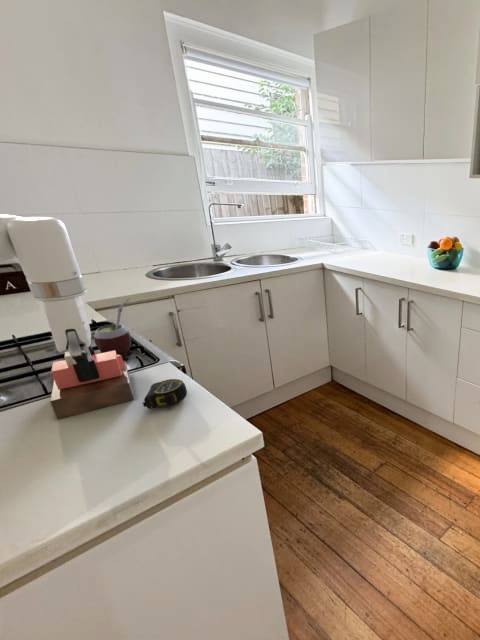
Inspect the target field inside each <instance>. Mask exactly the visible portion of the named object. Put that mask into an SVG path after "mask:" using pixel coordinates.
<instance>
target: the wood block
mask: <svg viewBox="0 0 480 640" xmlns="http://www.w3.org/2000/svg"><path fill="white" fill-rule="evenodd" d="M123 362H124V365H125V369H124V370H122V371H121V373H122V376H118V377H113V378H109V379H104V380H100V381H95V382H91V383H86V384H82V385H78V386H73V387H69V388H64V389H60V390H58V388H57V385H56V383H55V380H54V379H53V384H52V389H51V394H50V400H49V403H50V405H51V408H52V410H53V412H54V414H55V416H56V419H57V420H59V419H63V418H68V417H71V416H75V415H78V414H83V413H87V412H91V411H94V410H99V409H101V408H102V409H103V408H107V407H110V406H115V405H117V404H118V405H119V404H122V403H126V402H130V401H134V400H135V397H134V391H133V387H132V380H131V376H130V372H129V369H128V366H127V362H126V360H123Z"/></svg>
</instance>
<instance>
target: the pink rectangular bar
mask: <svg viewBox="0 0 480 640" xmlns="http://www.w3.org/2000/svg"><path fill="white" fill-rule="evenodd" d="M88 349H89V348H88ZM81 351H82V352H84V353H85V350H81ZM89 352H90V351H89ZM85 354H86V353H85ZM90 355H91V354H90ZM91 359H92V360H94V362H95V365H96V367H97V370H98V373H99V378H98V379H94V380H90V381H85V382H79V380H78V378H77V375H76V372H75V370H74V367H73V362H72V359H71V356H70V353H69V350H68V351H65V352H64V360H57V361H54V362H52V366H51V369H50V372H51V375H52V377H53V381H54V380H55V383H56V385H57V388H58V390H60V389H64V388H69V387H73V386H78V385H82V384H86V383H91V382H95V381H100V380H104V379H109V378H113V377H118V376H122V373H121V371H122V370H124V369H125V365H124V362H123V361H124V360H123V359H122V356H121V355H117V354H116V351H110V352H104V353H101V352H100V353H95V354H94V355H91Z"/></svg>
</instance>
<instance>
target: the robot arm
mask: <svg viewBox="0 0 480 640" xmlns="http://www.w3.org/2000/svg"><path fill="white" fill-rule="evenodd" d="M17 258H18V261H19V265H20V267H21V269H22V272H23V274H24V277H25V281H26V282H27V285H28V287H29V290H30V293H31V295H32V298H33V300H35V301H38V302H42V307H43V311H44V314H45V318H46V320H47V324H48V326H49V329H50V333H51V335H52V338H53V341H54V345H55V348H56V351H57V352H58V353H64V351H65V352H66V351H67V349H68V351H69V353H70V356H71V359H72V362H73V367H74V370H75V372H76V375H77V378H78V380H79V382H85V381H90V380H94V379H98V378H99V373H98V370H97V367H96V365H95V362H94V360H92V359H91V355H94V354H96V352H95V350H94V349H93V347H92V331H91V327H90V322H89V319H88V315H87V311H86V309H85V306H84V302H83V300H82V297H81V296H83V295H84V296H85V294H87V293H88V290H87V288H86V285H85V282H84V278H83V276H82V272H81V268H80V266H79V263H78V260H77V256H76V254H75V251H74V249H73V244H72V242H71V239H70V236H69V233H68V230H67V228H66V225H65V223H64V222H63V221H62V220H60V219H58V218H56V217H50V216H49V217H48V216H30V217H22V216H19V215H18V216H17V215H12V214H0V262H1V261H8V260H12V259H13V260H14V259H17ZM88 348H89V349H88ZM81 350H85V353H86V354H85V353H84V352H82V351H81ZM89 351H90V352H89ZM90 354H91V355H90Z"/></svg>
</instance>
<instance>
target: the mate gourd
mask: <svg viewBox="0 0 480 640" xmlns="http://www.w3.org/2000/svg"><path fill="white" fill-rule="evenodd" d="M130 300H131V297H129V298H128V299H126V300H125V301H123V302H122V303H121V304H120V305H119V306H118V309H117V317H116V324H108V325H104V326H103V325H102V326H100V327H99V328H97V329H96V330H95V332H94V334H93V339H94V344H95V345H96V347H97V348H98V350H99V352H100V353H104V352H110V351H116V354H117V355H121V356H122V359H123V361H129V359H130V358H129V357H128V356H129V355H131V354H133V352H132V350H131V349H130V348H131V345H132V336H131V333H130V331H129V329H128V328H126V327H125V326H124V325H122V324H120V321H121V316H122V312H123V308H124V306H125V305H126V304H127V303H128V302H129V301H130Z"/></svg>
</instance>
